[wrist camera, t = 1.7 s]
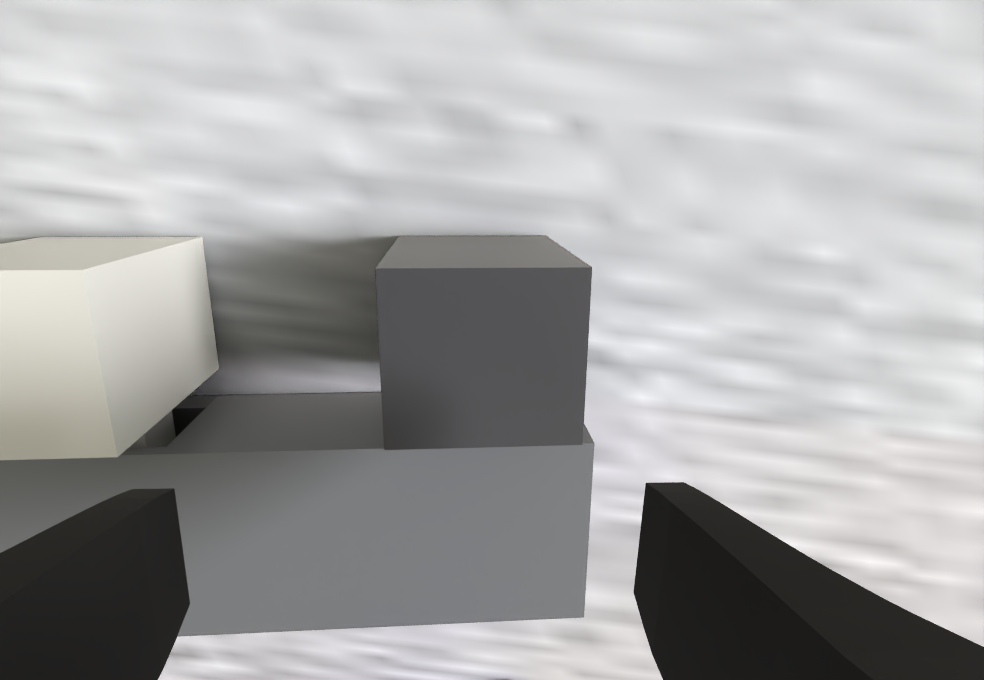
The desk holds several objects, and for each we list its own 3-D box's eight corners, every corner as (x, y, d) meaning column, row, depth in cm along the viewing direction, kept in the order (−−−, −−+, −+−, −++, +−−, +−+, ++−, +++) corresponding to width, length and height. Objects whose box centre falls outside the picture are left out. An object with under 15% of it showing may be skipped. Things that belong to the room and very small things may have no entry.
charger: (229, 448, 19) (138, 565, 13) (85, 452, 19) (-71, 573, 13) (202, 237, 17) (81, 269, 11) (40, 236, 17) (-162, 271, 11)
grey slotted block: (558, 534, 21) (600, 674, 15) (-309, 566, 19) (-640, 741, 13) (571, 235, 18) (630, 267, 12) (-452, 237, 16) (-958, 275, 10)
